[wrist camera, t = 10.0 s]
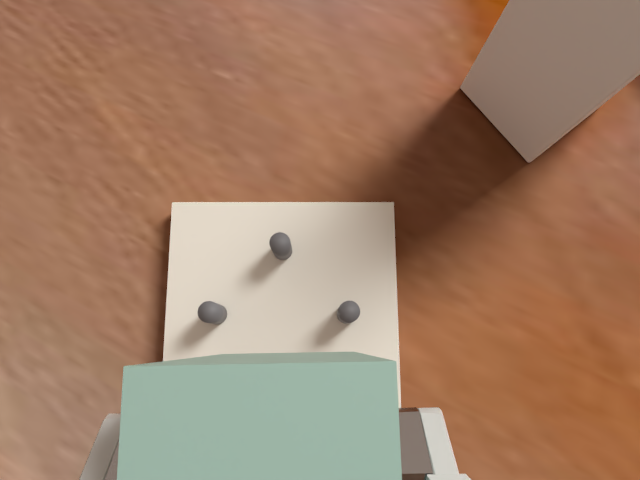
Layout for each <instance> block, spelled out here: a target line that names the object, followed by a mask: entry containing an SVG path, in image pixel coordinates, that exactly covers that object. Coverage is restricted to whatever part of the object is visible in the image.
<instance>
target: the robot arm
mask: <svg viewBox="0 0 640 480" xmlns="http://www.w3.org/2000/svg"><path fill="white" fill-rule="evenodd" d="M120 418H121V414H108V415H107V417H106V418H105V419H104V420H103V422H102V425H101V427H100V430H99V432H98V435H97V437H96V439H95V442H94V444H93V447H92V449H91V452H90V454H89V457H88V459H87V461H86V464H85V466H84V469H83V471H82V474H81V476H80V479H79V480H117V468H118V451H119V435H120ZM399 428H400V449H401V470H402V480H471V479H470V478H469V477H468V476H467V475H466V474H459V472H458V468H457V464H456V461H455V457H454V453H453V450H452V446H451V442H450V439H449V435H448V431H447V428H446V424H445V420H444V417H443V413H442V411H441V410H440V408H438V407H435V408H416V407H414V408H399Z"/></svg>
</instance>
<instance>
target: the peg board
mask: <svg viewBox="0 0 640 480" xmlns="http://www.w3.org/2000/svg"><path fill="white" fill-rule="evenodd" d="M301 352H358V353H363V354H367V355H371V356H376V357H380V358H385V359H389V360H393V361H396V365H397V386H398V407H399V408H401V391H400V363H399V334H398V306H397V277H396V249H395V220H394V202H172V213H171V230H170V247H169V264H168V282H167V299H166V316H165V333H164V350H163V361H170V360H178V359H186V358H194V357H202V356H210V355H218V354H247V353H301Z"/></svg>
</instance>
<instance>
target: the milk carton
mask: <svg viewBox="0 0 640 480" xmlns="http://www.w3.org/2000/svg"><path fill="white" fill-rule="evenodd" d="M639 74H640V0H509V2H508V4H507V6H506V7H505V9H504V11H503V13H502V14H501V16H500V18H499V20H498V22H497V23H496V25H495V27H494V29H493V30H492V32H491V34H490V36H489V37H488V39H487V41H486V43H485V44H484V46H483V48H482V50H481V51H480V53H479V55H478V57H477V58H476V60H475V62H474V64H473V65H472V67H471V69H470V71H469V72H468V74H467V76H466V78H465V79H464V81H463V83H462V85H461V87H460V88H461V90H462V91H463V92H464V93H465V94H466V95H467V96H468V97H469V98H470V100H471V101H472V102H473V103H474V104H475V105H476V106H477V107H478V108H479V109H480V111H481V112H482V113H483V114H484V115H485V116H486V117H487V118H488V119H489V120H490V122H491V123H492V124H493V125H494V126H495V127H496V128H497V129H498V130H499V131H500V133H501V134H502V135H503V136H504V137H505V138H506V139H507V140H508V141H509V142H510V143H511V145H512V146H513V147H514V148H515V149H516V150H517V151H518V152H519V153H520V154H521V155H522V157H523V158H524V159H525V160H526V161H527V162H528V163H530V162H531V161H533V160H534V159H535V158H537V157H538V156H539V155H541V154H542V153H543V152H544V151H546V150H547V149H548V148H549V147H551V146H552V145H553V144H554V143H556V142H557V141H558V140H559V139H561V138H562V137H563V136H564V135H566V134H567V133H568V132H569V131H571V130H572V129H573V128H574V127H576V126H577V125H578V124H579V123H581V122H582V121H583V120H584V119H586V118H587V117H588V116H589V115H591V114H592V113H593V112H594V111H596V110H597V109H598V108H599V107H601V106H602V105H603V104H604V103H605V102H607V101H608V100H609V99H610V98H611V97H613V96H614V95H615V94H616V93H617V92H619V91H620V90H621V89H622V88H624V87H625V86H626V85H627V84H628V83H630V82H631V81H632V80H633V79H634V78H636V77H637V76H638V75H639Z"/></svg>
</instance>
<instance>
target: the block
mask: <svg viewBox="0 0 640 480" xmlns="http://www.w3.org/2000/svg"><path fill="white" fill-rule="evenodd" d="M117 480H402V470H401V449H400V428H399V407H398V386H397V365H396V361H393V360H389V359H385V358H380V357H376V356H371V355H367V354H363V353H358V352H301V353H247V354H218V355H210V356H202V357H194V358H186V359H178V360H170V361H162V362H154V363H146V364H138V365H130V366H124V369H123V385H122V402H121V418H120V435H119V451H118V468H117Z"/></svg>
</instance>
